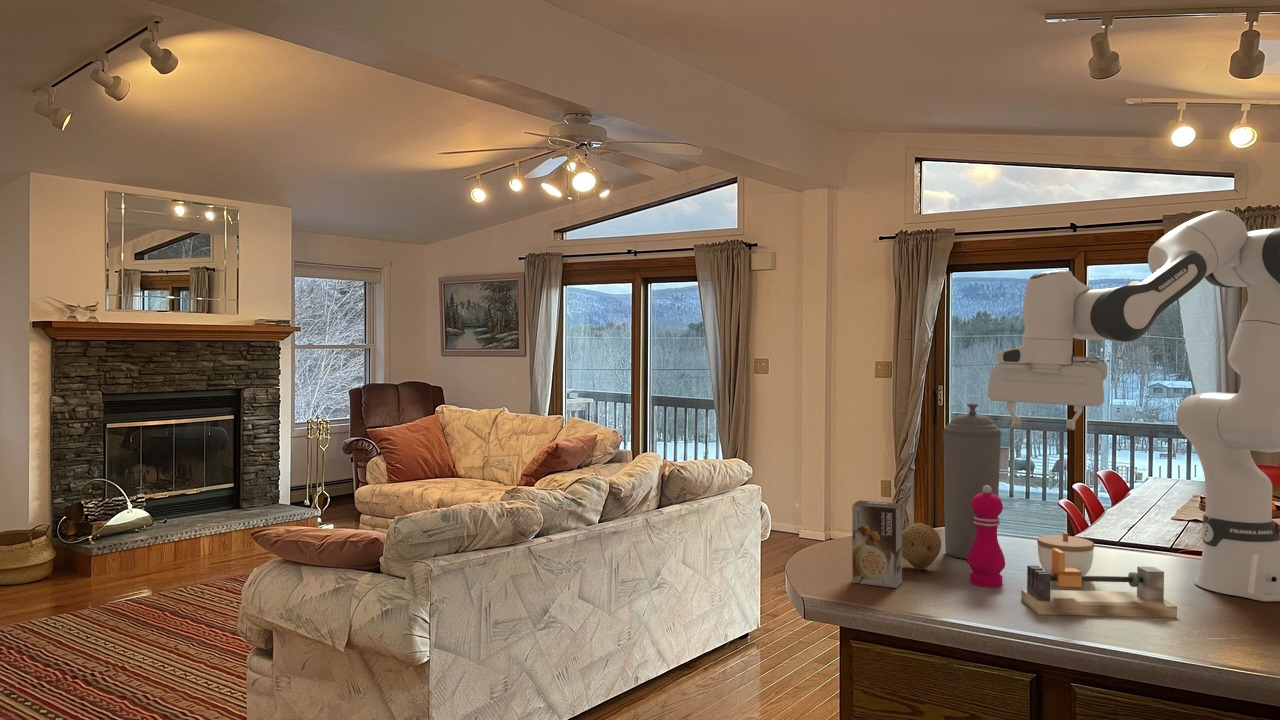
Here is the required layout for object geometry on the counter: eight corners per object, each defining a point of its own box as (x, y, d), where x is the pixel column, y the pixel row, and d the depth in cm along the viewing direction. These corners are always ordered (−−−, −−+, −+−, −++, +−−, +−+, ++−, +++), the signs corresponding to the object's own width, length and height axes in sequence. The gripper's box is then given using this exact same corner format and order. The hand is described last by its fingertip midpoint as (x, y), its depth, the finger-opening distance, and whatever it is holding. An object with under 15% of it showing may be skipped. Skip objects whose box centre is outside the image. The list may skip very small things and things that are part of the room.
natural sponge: (936, 577, 187) (936, 529, 187) (892, 571, 191) (893, 525, 191) (944, 567, 195) (944, 521, 195) (902, 562, 199) (903, 517, 199)
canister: (929, 551, 210) (931, 402, 210) (975, 547, 214) (977, 401, 213) (964, 564, 198) (966, 405, 197) (1012, 560, 202) (1014, 404, 201)
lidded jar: (1053, 568, 195) (1054, 525, 195) (1103, 579, 186) (1104, 534, 186) (1026, 576, 188) (1027, 531, 188) (1076, 587, 180) (1077, 540, 180)
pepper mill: (1008, 589, 178) (1009, 488, 178) (969, 586, 180) (971, 487, 179) (1001, 579, 185) (1002, 483, 185) (964, 577, 187) (965, 481, 186)
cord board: (1151, 602, 169) (1152, 563, 169) (1177, 617, 160) (1177, 575, 160) (1021, 599, 171) (1021, 560, 171) (1039, 614, 162) (1039, 572, 162)
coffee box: (903, 581, 184) (904, 503, 183) (896, 589, 178) (897, 508, 178) (858, 575, 188) (859, 499, 188) (850, 583, 182) (851, 504, 182)
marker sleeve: (1073, 581, 167) (1074, 548, 167) (1081, 586, 164) (1081, 553, 164) (1051, 581, 168) (1052, 548, 168) (1058, 586, 164) (1059, 552, 164)
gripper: (1107, 357, 169) (1104, 430, 169) (991, 353, 178) (988, 422, 178) (1108, 357, 163) (1104, 433, 163) (988, 352, 172) (985, 424, 173)
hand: (1043, 427), depth 171 cm, fingers open, 8 cm apart
